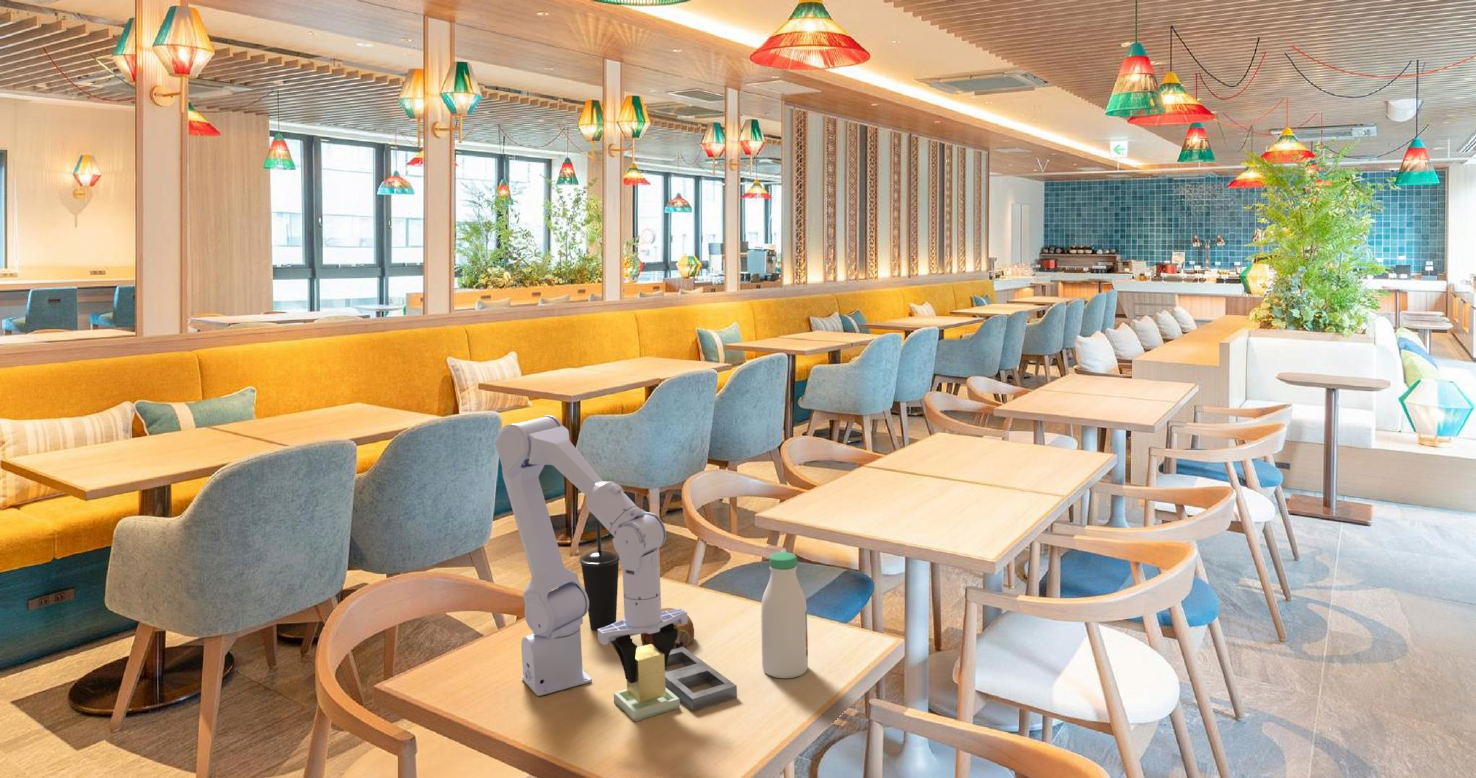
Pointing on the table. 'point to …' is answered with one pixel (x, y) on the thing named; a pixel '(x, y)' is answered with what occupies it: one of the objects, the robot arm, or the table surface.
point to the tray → (646, 705)
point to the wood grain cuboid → (648, 675)
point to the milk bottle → (784, 620)
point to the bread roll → (683, 634)
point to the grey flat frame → (696, 681)
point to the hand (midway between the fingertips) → (645, 676)
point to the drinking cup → (601, 584)
